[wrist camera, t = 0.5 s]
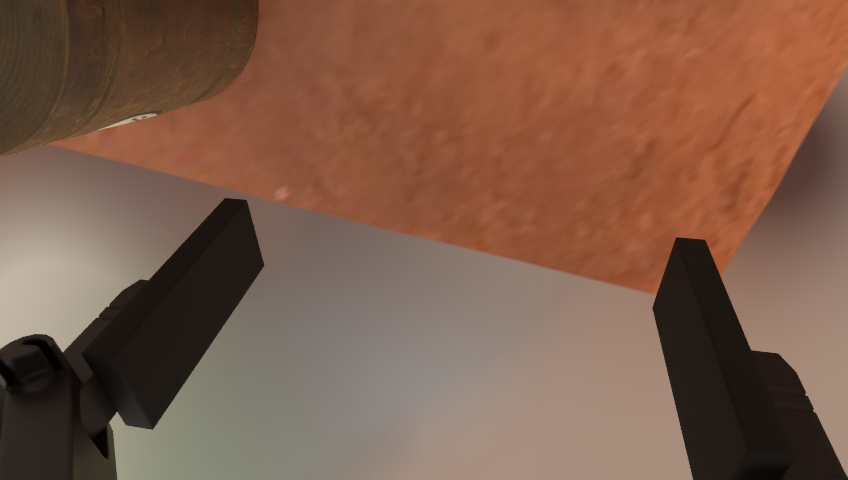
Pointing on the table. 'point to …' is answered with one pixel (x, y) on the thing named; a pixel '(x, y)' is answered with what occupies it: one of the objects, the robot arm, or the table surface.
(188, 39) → the wooden container
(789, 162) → the table surface
